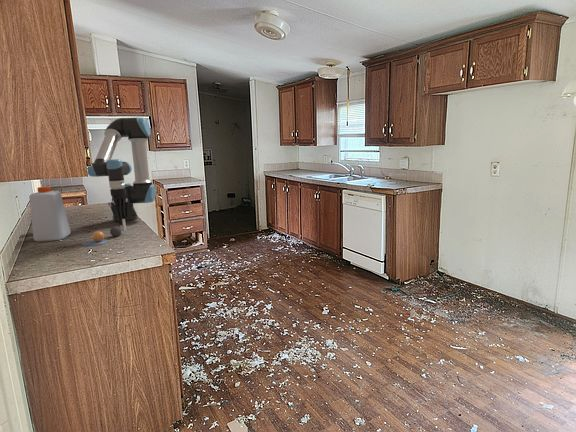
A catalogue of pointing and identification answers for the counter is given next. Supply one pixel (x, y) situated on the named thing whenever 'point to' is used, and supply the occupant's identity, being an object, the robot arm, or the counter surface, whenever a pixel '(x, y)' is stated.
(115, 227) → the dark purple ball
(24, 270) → the counter surface
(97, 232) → the orange ball
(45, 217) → the plastic bottle
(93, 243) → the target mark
